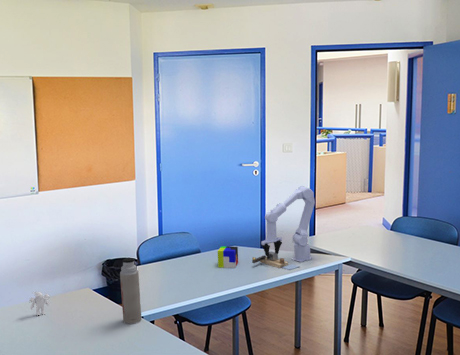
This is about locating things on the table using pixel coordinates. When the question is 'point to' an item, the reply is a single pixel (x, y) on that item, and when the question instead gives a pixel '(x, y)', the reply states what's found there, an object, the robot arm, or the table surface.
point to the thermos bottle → (130, 292)
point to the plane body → (275, 262)
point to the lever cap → (272, 256)
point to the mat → (290, 267)
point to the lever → (258, 259)
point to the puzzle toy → (227, 257)
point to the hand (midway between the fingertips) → (272, 254)
